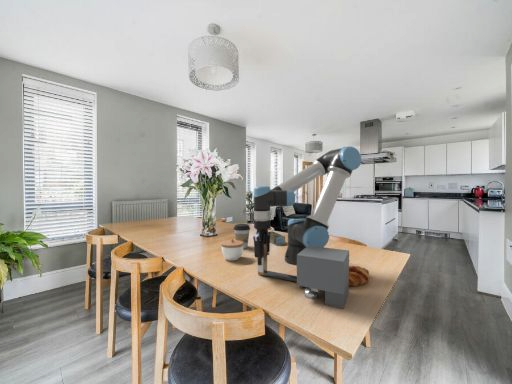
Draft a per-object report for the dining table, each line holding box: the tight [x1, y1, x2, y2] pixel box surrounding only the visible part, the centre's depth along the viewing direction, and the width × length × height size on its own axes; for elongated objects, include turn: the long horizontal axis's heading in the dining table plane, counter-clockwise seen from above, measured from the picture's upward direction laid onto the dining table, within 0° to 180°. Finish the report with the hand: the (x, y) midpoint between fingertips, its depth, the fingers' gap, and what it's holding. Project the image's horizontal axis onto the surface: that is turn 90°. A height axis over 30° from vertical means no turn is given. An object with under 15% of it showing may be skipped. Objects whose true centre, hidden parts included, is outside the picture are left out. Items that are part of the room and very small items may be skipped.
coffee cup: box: [233, 223, 251, 250], centre depth 156 cm, size 11×11×15 cm
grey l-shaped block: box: [296, 246, 350, 310], centre depth 88 cm, size 17×15×16 cm
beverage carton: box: [270, 231, 286, 246], centre depth 171 cm, size 8×19×7 cm, turn 24°
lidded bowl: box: [220, 238, 244, 261], centre depth 132 cm, size 13×13×11 cm
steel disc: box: [304, 287, 319, 300], centre depth 87 cm, size 5×5×2 cm
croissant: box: [349, 265, 370, 287], centre depth 101 cm, size 21×10×8 cm, turn 132°
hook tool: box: [257, 243, 304, 289], centre depth 101 cm, size 22×8×14 cm, turn 62°
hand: (262, 270), depth 108 cm, fingers closed on hook tool, 3 cm apart
